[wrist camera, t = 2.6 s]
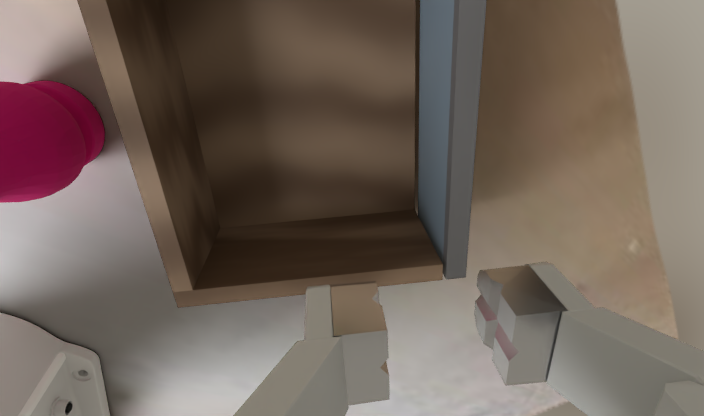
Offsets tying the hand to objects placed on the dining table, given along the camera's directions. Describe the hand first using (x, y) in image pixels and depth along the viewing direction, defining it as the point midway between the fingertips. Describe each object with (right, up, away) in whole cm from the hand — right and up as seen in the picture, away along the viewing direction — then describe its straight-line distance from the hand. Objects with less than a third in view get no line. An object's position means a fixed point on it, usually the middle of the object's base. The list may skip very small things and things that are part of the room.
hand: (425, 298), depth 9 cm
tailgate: (+3, +10, +20) cm, 22 cm away
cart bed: (-6, +10, +21) cm, 23 cm away
